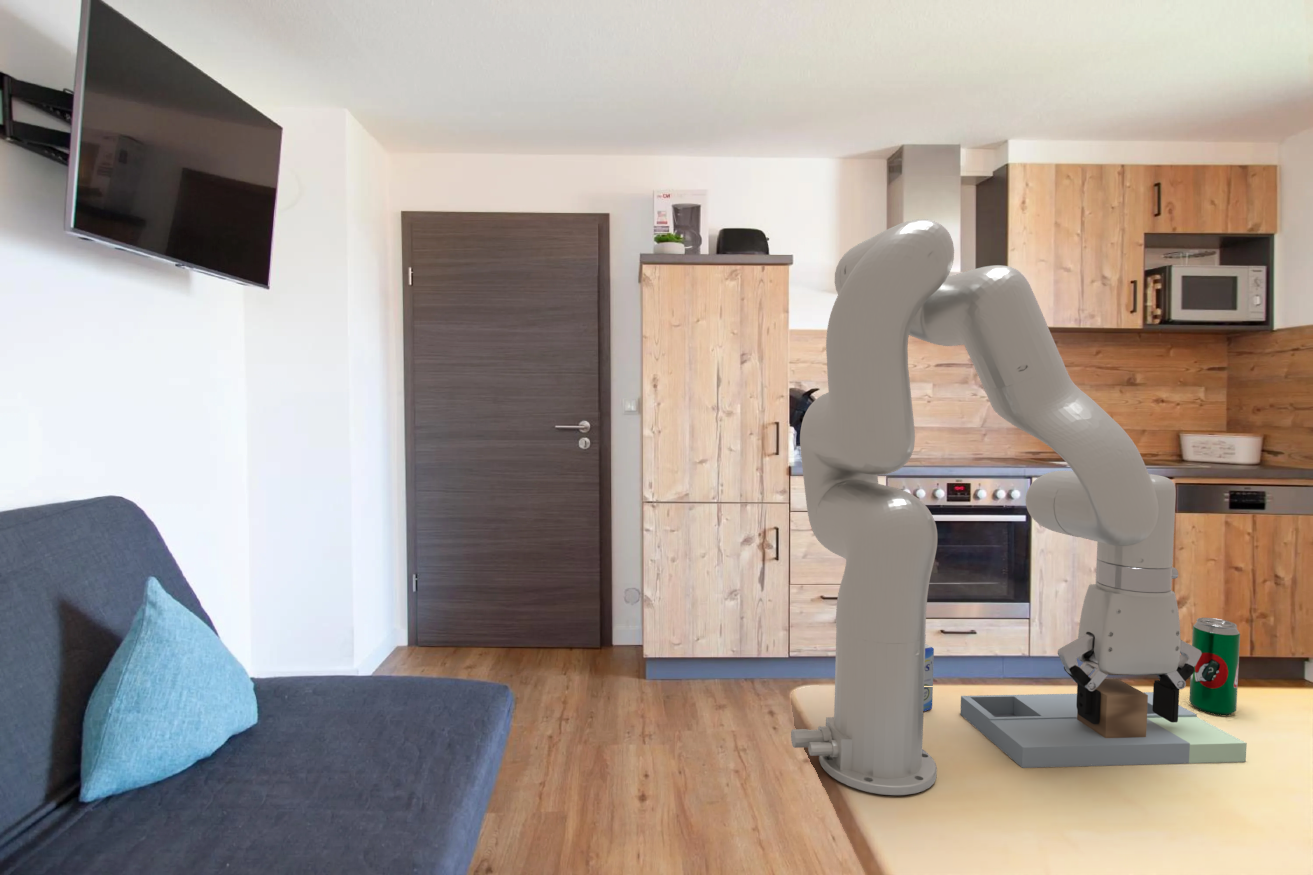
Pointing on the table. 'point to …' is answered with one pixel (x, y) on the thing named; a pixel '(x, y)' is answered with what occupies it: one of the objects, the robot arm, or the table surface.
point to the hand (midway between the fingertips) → (1126, 718)
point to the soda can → (1215, 666)
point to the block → (1120, 711)
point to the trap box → (1092, 734)
